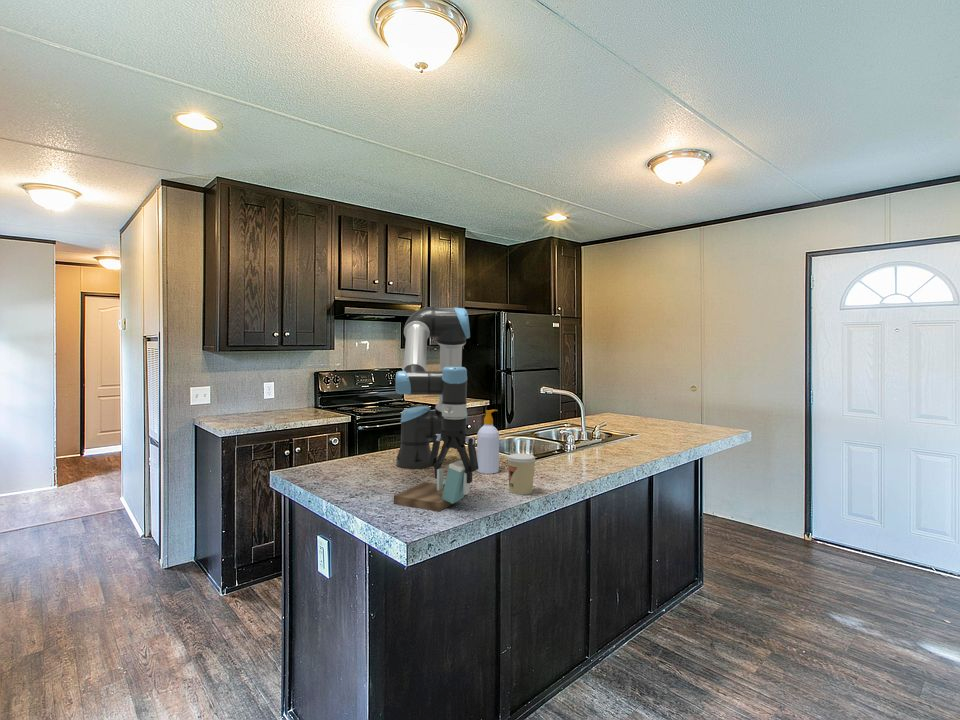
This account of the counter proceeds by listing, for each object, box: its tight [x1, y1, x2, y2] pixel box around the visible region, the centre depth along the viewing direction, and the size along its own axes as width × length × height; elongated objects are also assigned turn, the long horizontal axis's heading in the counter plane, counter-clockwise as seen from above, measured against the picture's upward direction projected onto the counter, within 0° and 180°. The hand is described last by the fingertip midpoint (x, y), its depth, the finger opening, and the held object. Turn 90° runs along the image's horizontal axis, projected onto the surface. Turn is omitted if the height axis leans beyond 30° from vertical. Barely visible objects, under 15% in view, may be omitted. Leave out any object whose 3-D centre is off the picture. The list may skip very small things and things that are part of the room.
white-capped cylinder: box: [507, 452, 536, 496], centre depth 174 cm, size 9×9×12 cm
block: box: [442, 459, 466, 505], centre depth 157 cm, size 4×7×11 cm, turn 155°
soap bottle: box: [476, 409, 500, 475], centre depth 201 cm, size 9×9×24 cm
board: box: [393, 481, 467, 512], centre depth 164 cm, size 16×18×2 cm
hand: (453, 491), depth 158 cm, fingers open, 8 cm apart
